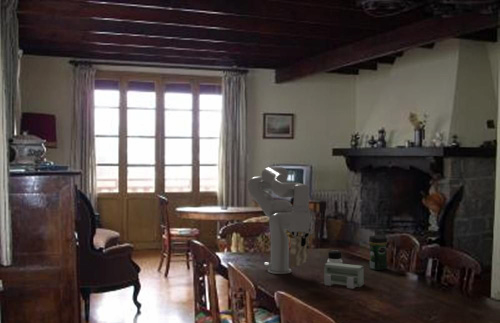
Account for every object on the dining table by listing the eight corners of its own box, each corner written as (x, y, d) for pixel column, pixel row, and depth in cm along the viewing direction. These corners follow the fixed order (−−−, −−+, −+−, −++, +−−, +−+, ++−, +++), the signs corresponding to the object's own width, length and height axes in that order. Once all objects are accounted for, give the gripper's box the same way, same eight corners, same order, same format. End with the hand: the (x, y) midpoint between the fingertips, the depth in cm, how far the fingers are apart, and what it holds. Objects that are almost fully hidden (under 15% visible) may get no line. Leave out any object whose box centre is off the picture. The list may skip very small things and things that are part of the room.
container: (341, 278, 269) (342, 252, 269) (326, 277, 271) (326, 252, 271) (342, 274, 277) (342, 250, 277) (327, 274, 278) (327, 249, 278)
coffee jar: (380, 266, 298) (381, 233, 298) (389, 269, 291) (389, 235, 290) (366, 267, 294) (366, 234, 294) (374, 270, 287) (374, 236, 287)
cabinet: (320, 284, 256) (320, 266, 256) (328, 280, 265) (328, 262, 265) (357, 289, 247) (357, 270, 247) (363, 284, 257) (363, 265, 257)
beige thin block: (296, 267, 256) (297, 239, 256) (290, 267, 258) (290, 238, 257) (310, 260, 272) (311, 233, 272) (304, 260, 274) (304, 233, 273)
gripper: (283, 208, 265) (282, 245, 265) (313, 211, 257) (312, 248, 258) (289, 207, 271) (288, 242, 272) (319, 209, 264) (318, 246, 264)
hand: (300, 245), depth 265 cm, fingers closed on beige thin block, 2 cm apart
